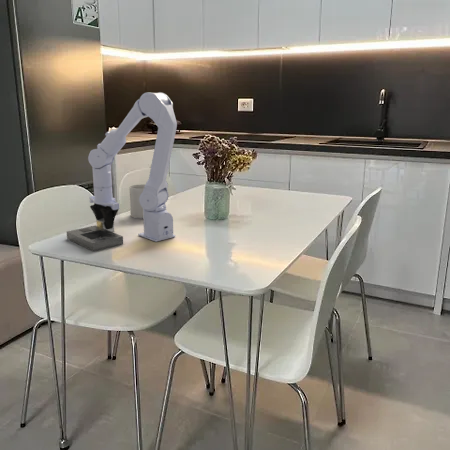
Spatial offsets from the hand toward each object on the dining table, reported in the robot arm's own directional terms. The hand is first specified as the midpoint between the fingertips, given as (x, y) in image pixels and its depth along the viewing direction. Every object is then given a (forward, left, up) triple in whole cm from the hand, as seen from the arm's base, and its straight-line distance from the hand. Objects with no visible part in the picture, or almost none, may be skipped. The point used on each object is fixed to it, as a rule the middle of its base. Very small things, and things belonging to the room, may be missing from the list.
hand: (105, 227), depth 149 cm
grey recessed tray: (-7, +8, -1) cm, 11 cm away
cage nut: (0, 0, -1) cm, 1 cm away
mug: (+7, -21, -2) cm, 22 cm away
